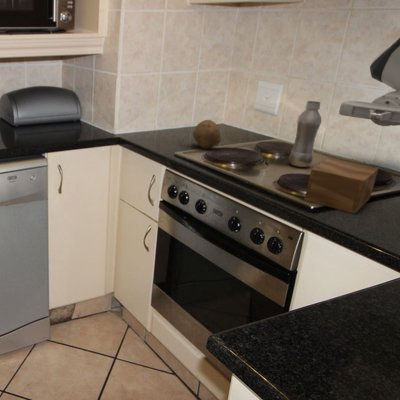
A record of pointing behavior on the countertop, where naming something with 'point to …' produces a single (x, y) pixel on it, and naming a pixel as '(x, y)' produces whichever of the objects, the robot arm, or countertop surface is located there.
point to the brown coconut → (207, 134)
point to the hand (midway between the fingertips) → (375, 116)
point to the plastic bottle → (306, 135)
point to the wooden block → (341, 184)
